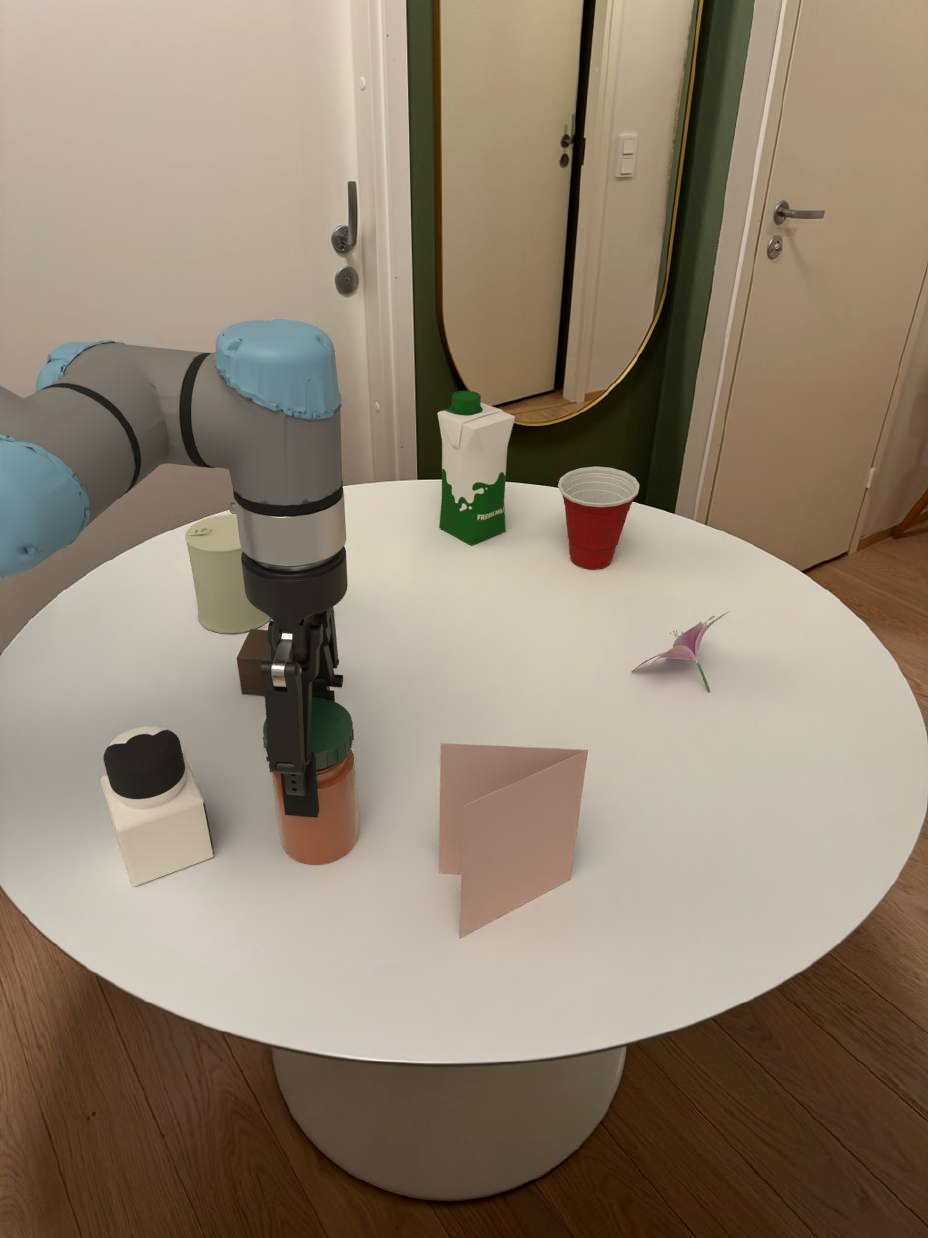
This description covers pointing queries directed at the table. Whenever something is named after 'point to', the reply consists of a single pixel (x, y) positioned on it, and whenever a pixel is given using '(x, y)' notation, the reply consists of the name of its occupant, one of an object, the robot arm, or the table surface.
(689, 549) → the table surface
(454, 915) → the table surface
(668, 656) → the lily
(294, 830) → the jar
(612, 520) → the plastic cup
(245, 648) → the riser
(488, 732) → the table surface
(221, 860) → the table surface
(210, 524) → the can
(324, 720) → the lid
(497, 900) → the greeting card
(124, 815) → the medicine bottle
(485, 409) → the milk carton
